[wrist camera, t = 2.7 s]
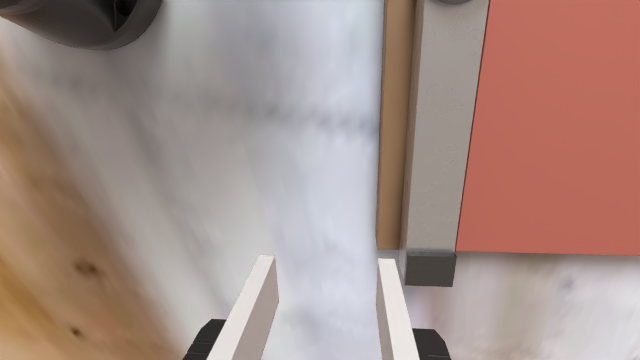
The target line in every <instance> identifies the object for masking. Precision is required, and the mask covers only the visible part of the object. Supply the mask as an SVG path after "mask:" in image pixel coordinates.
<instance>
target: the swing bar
mask: <svg viewBox="0 0 640 360" xmlns="http://www.w3.org/2000/svg"><path fill="white" fill-rule="evenodd" d="M488 3H489V0H416V8H415V22H414V37H413V52H412V67H411V82H410V97H409V112H408V126H407V141H406V156H405V171H404V186H403V201H402V215H401V230H400V245H399V260H398V261H399V265H400V269H401V273H402V276H403V280H404V284H405V285H414V286H441V287H452V286H453V279H454V272H455V265H456V258H457V257H456V255H455V253H454V251H455V243H456V236H457V229H458V221H459V214H460V207H461V200H462V192H463V185H464V178H465V170H466V163H467V156H468V149H469V141H470V134H471V127H472V120H473V112H474V105H475V98H476V90H477V83H478V76H479V69H480V61H481V54H482V47H483V39H484V32H485V25H486V18H487V10H488Z"/></svg>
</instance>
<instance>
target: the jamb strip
mask: <svg viewBox="0 0 640 360" xmlns="http://www.w3.org/2000/svg"><path fill="white" fill-rule="evenodd" d="M415 8H416V0H384V26H383V53H382V80H381V107H380V134H379V161H378V188H377V215H376V241H377V247H378V249H395V250H399V245H400V230H401V215H402V201H403V186H404V171H405V156H406V141H407V126H408V112H409V97H410V82H411V67H412V52H413V37H414V22H415Z"/></svg>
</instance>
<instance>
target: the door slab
mask: <svg viewBox="0 0 640 360" xmlns="http://www.w3.org/2000/svg"><path fill="white" fill-rule="evenodd" d="M455 251H473V252H512V253H551V254H590V255H629V256H640V0H489V3H488V10H487V18H486V25H485V32H484V39H483V47H482V54H481V61H480V69H479V76H478V83H477V90H476V98H475V105H474V112H473V120H472V127H471V134H470V141H469V149H468V156H467V163H466V170H465V178H464V185H463V192H462V200H461V207H460V214H459V221H458V229H457V236H456V243H455Z"/></svg>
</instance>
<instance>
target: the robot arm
mask: <svg viewBox="0 0 640 360" xmlns="http://www.w3.org/2000/svg"><path fill="white" fill-rule="evenodd" d="M160 3H161V0H0V16H1V17H3V18H5V19H7V20H9V21H11V22H13V23H15V24H17V25H20V26H22V27H24V28H26V29H28V30H30V31H32V32H34V33H36V34H38V35H40V36H43V37H45V38H47V39H49V40H51V41H54V42H57V43H60V44H63V45H67V46H71V47H76V48H85V49H94V50H109V49H115V48H119V47H122V46H124V45H126V44H128V43H130V42H132V41H134V40H135V39H136V38H138V37H139V36H140V35H141V34H142V33H143V32H144V31H145V30H146V29H147V28H148V26H149V25H150V24H151V22H152V21H153V19H154V17H155V15H156V13H157V11H158V9H159V6H160ZM278 303H279V296H278V285H277V274H276V263H275V255H259V257H258V259H257V261H256V263H255V265H254V267H253V269H252V271H251V273H250V275H249V277H248V279H247V281H246V283H245V285H244V287H243V289H242V291H241V293H240V295H239V297H238V299H237V301H236V303H235V305H234V306H233V308H232V310H231V312H230V314H229V316H228V318H227V320H221V319H211V320H210V321H209V322H208V323H207V324H206V325H205V326H204V327H202V328H201V329H200V331H199V333H198V334H197V336H196V338H195V340H194V341H193V344H192V345H191V346H190V348H189V350H188V351H187V354H186V355H185V356H184V358H183V360H261V357H262V354H263V351H264V347H265V344H266V341H267V338H268V335H269V331H270V328H271V325H272V322H273V319H274V316H275V312H276V309H277V306H278ZM376 310H377V318H378V327H379V335H380V344H381V352H382V360H451V358H450V355H449V352H448V349H447V347H446V344H445V341H444V340H443V339H442V338H441V337H440V335H439V334H438V333H437V332H436V331H435V330H434V329H415V328H412V327H411V323H410V319H409V315H408V311H407V307H406V303H405V299H404V295H403V291H402V287H401V283H400V279H399V275H398V271H397V267H396V263H395V259H380V258H378V268H377V293H376Z"/></svg>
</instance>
